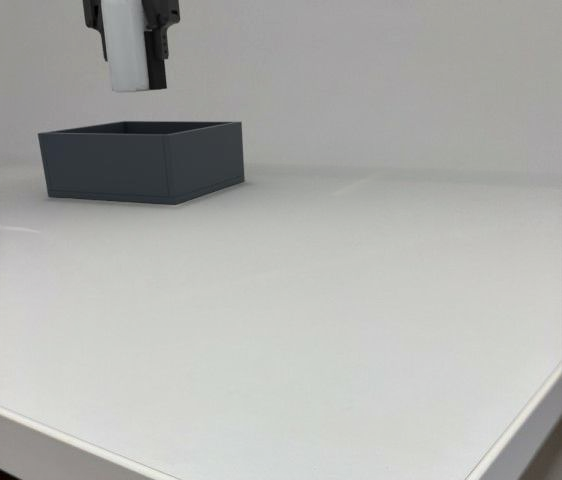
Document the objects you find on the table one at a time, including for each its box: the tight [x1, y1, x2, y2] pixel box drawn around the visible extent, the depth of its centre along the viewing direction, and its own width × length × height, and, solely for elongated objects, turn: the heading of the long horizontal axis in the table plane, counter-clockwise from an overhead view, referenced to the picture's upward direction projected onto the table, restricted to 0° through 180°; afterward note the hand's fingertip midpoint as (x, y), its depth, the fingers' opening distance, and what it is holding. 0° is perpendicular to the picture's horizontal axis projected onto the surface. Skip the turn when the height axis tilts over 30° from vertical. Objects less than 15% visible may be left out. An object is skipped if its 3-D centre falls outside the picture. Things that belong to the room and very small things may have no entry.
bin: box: [37, 120, 246, 206], centre depth 91 cm, size 20×18×8 cm
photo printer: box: [101, 0, 162, 93], centre depth 85 cm, size 10×4×12 cm, turn 169°
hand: (139, 89), depth 87 cm, fingers closed on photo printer, 5 cm apart
